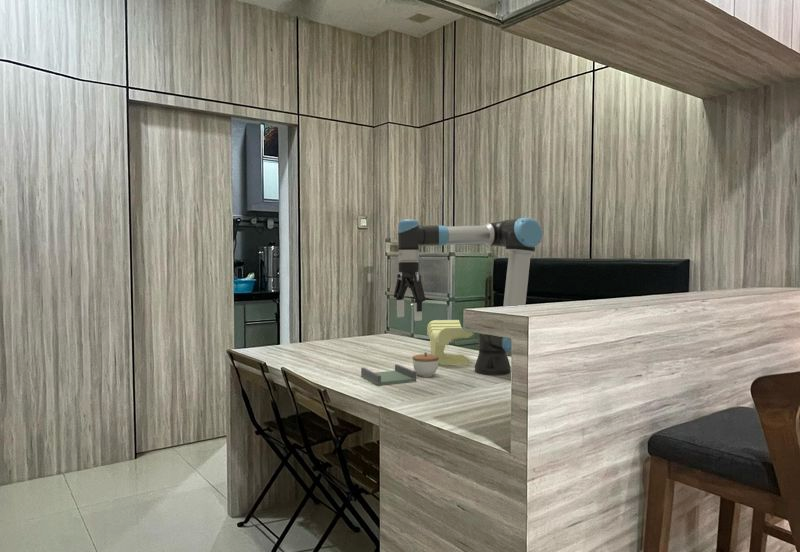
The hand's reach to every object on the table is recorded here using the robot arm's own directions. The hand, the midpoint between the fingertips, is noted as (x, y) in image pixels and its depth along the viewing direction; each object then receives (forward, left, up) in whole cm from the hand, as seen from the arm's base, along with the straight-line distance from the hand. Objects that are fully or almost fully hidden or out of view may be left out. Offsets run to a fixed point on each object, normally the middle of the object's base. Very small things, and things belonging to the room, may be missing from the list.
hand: (409, 318), depth 198 cm
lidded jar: (-16, -16, -26) cm, 34 cm away
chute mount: (+1, -16, -26) cm, 30 cm away
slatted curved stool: (-40, -37, -26) cm, 60 cm away
